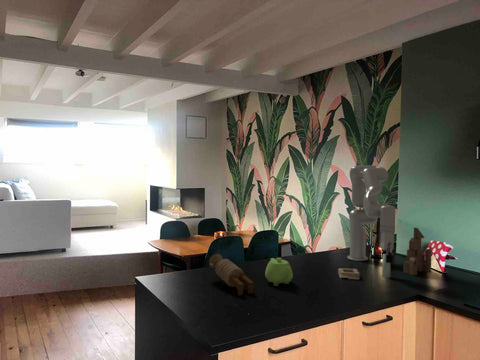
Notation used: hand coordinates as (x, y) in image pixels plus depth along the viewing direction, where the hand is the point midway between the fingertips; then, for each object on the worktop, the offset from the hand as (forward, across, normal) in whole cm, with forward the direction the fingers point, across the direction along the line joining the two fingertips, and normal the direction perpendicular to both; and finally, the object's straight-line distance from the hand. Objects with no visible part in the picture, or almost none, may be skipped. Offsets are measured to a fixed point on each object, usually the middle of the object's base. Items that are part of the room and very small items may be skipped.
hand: (386, 260), depth 212 cm
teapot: (+9, +18, -57) cm, 61 cm away
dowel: (+9, -1, 0) cm, 9 cm away
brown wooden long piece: (+10, +28, -81) cm, 86 cm away
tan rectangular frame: (+9, +1, -20) cm, 22 cm away
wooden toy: (+9, -13, +20) cm, 25 cm away
